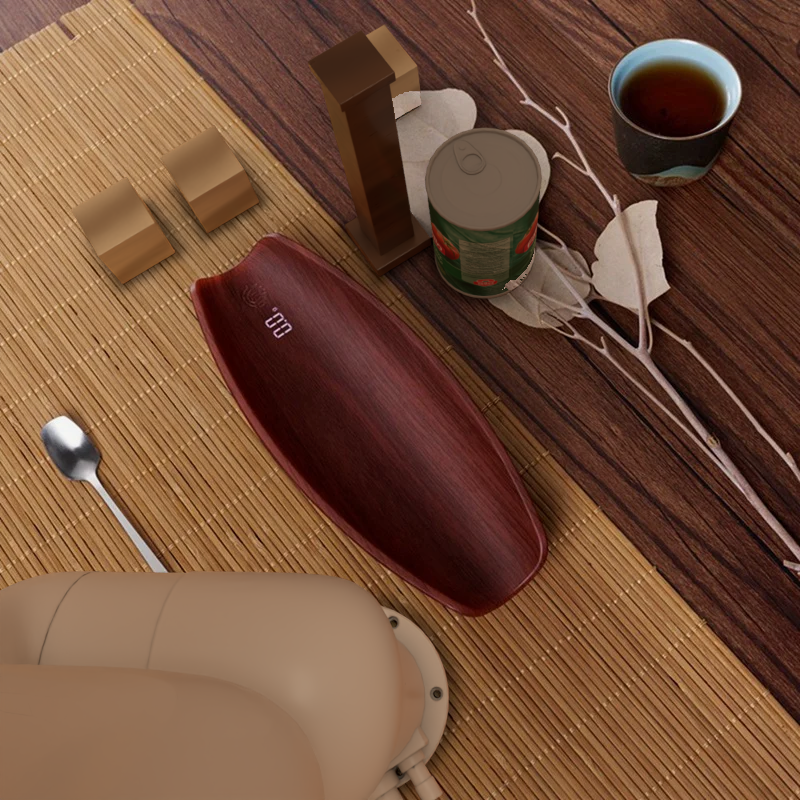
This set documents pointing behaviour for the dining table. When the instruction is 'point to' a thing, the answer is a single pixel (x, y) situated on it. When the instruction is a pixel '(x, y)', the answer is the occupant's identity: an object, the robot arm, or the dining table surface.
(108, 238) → the line block
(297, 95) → the dining table surface
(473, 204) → the canned tomato
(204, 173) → the line block
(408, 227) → the stand
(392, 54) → the line block
